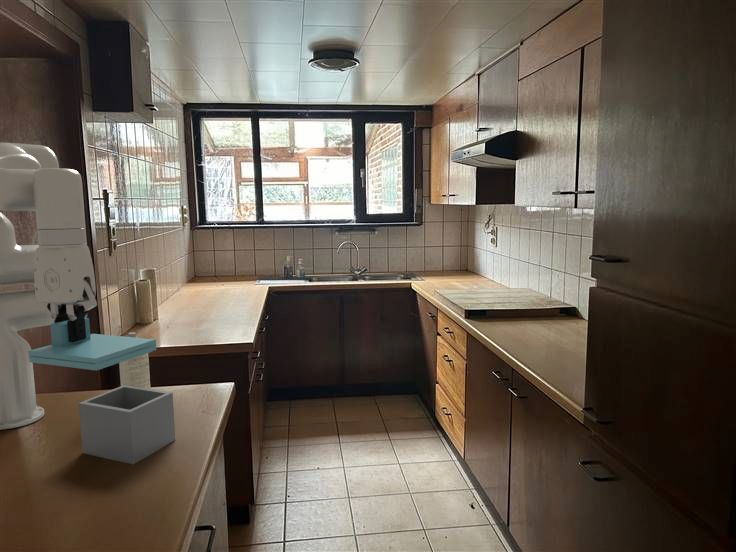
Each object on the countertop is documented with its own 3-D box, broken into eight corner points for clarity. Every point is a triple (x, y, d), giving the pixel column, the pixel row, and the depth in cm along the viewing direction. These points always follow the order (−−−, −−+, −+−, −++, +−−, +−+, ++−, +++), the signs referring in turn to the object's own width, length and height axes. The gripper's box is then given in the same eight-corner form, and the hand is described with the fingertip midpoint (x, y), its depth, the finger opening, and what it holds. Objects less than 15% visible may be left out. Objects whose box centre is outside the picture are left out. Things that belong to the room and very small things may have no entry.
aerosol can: (145, 402, 140) (141, 328, 138) (155, 409, 136) (151, 333, 133) (118, 409, 136) (113, 333, 133) (128, 416, 131) (122, 337, 128)
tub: (82, 453, 112) (78, 403, 110) (127, 430, 123) (124, 385, 121) (133, 464, 106) (129, 412, 105) (175, 440, 118) (172, 392, 116)
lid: (29, 362, 91) (26, 328, 91) (94, 343, 104) (91, 313, 103) (96, 370, 86) (93, 334, 85) (156, 349, 98) (154, 318, 98)
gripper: (10, 240, 93) (20, 341, 96) (78, 240, 88) (86, 348, 90) (49, 237, 100) (57, 332, 103) (114, 238, 95) (121, 338, 97)
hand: (71, 339), depth 96 cm, fingers closed on lid, 2 cm apart
